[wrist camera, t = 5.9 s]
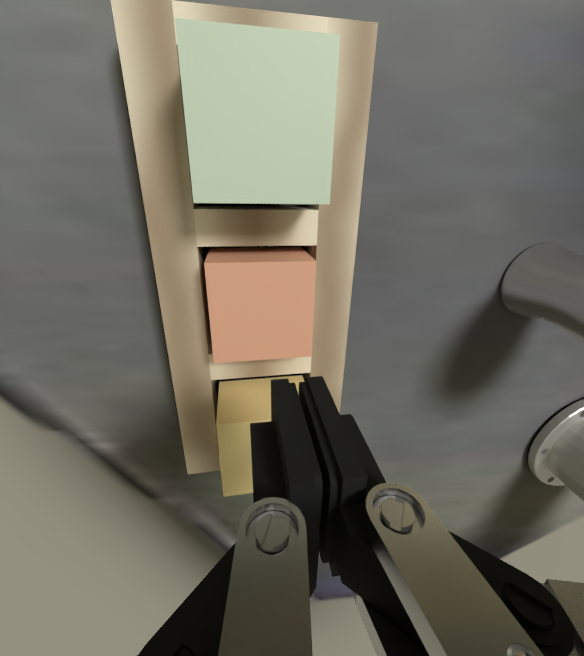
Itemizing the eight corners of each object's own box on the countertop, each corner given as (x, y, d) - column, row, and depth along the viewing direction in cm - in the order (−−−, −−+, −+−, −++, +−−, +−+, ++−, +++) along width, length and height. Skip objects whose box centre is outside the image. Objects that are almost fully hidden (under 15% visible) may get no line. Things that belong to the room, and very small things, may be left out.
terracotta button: (300, 246, 21) (316, 261, 17) (298, 327, 24) (311, 356, 20) (209, 247, 20) (204, 263, 16) (217, 331, 23) (213, 363, 19)
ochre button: (302, 375, 23) (316, 415, 19) (300, 437, 26) (312, 484, 22) (219, 381, 22) (216, 424, 18) (225, 446, 25) (223, 496, 21)
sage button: (313, 72, 16) (340, 34, 12) (308, 200, 18) (329, 204, 14) (190, 63, 15) (174, 17, 11) (202, 198, 17) (193, 203, 13)
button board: (356, 47, 18) (378, 22, 15) (325, 431, 29) (335, 456, 27) (130, 26, 16) (109, -7, 13) (192, 446, 27) (187, 474, 25)
